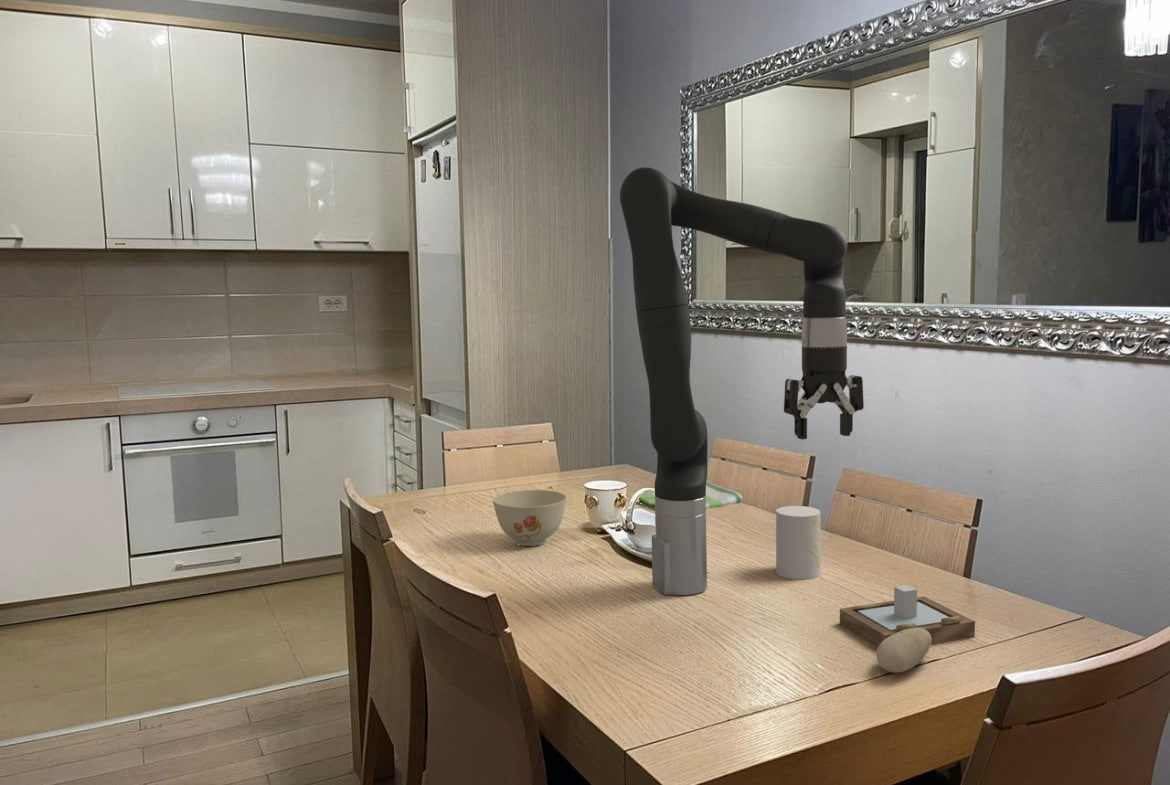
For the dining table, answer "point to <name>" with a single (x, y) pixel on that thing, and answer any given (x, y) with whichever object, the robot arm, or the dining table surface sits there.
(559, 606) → the dining table surface
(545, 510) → the bowl
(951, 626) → the cabinet frame
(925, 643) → the stone
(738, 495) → the dish towel
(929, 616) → the panel with block handle
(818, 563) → the grey upright cylinder
